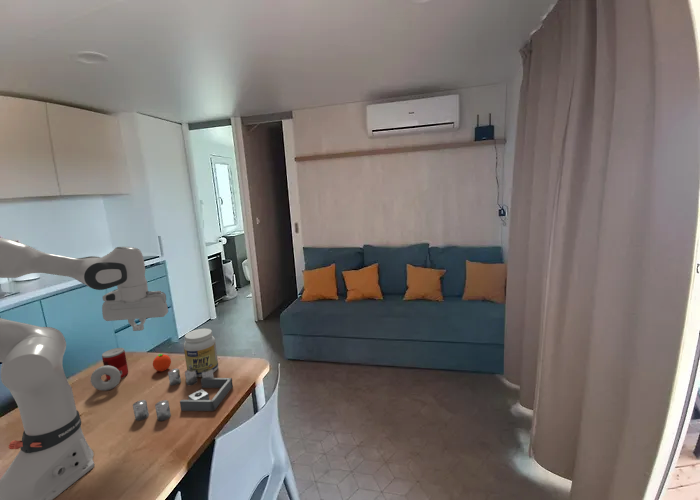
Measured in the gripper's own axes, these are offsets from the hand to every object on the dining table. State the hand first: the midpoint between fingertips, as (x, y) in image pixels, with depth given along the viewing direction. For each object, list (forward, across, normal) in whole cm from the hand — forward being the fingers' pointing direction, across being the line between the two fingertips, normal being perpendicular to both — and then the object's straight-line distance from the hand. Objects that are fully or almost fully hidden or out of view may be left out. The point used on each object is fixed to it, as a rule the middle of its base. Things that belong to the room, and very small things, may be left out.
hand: (138, 330), depth 124 cm
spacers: (+27, -10, +1) cm, 29 cm away
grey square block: (+27, -19, +5) cm, 34 cm away
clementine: (+27, +3, -23) cm, 36 cm away
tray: (+27, -22, +3) cm, 35 cm away
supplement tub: (+27, -15, -18) cm, 36 cm away
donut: (+28, +20, -12) cm, 36 cm away
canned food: (+28, +21, -22) cm, 41 cm away
